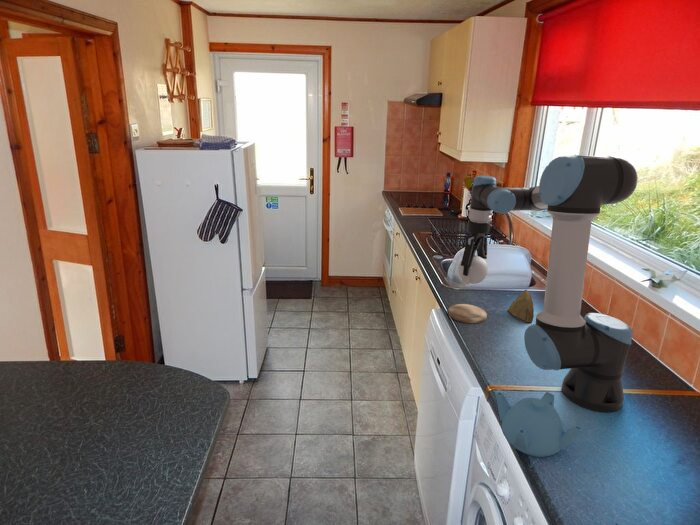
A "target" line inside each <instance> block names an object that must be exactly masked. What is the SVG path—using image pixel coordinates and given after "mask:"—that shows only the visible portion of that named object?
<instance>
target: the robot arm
mask: <svg viewBox="0 0 700 525" xmlns="http://www.w3.org/2000/svg"><path fill="white" fill-rule="evenodd" d="M638 179H639V176H638V172H637V169H636V168H635V166H634V165H633V164H632V163H631V162H630V161H628V160H627V159H626V158H623V157H619V156H617V155H616V156H615V155H605V156H604V155H579V154H577V155H576V154H573V155H572V154H571V155H561V156H558V157H555V158H554V159H552V160H551V161H550V162H549V163H548V165H546V166H545V168H544V169H543V171H542V173H541V176H540V179H539V184H538V185H537V186H530V187H521V186H520V187H501V186H498V185H497V179H496V177H495V176H492V175H491V176H490V175H485V174H484V175H476V176H475V177H474V178H473V183H472V187H471V188H472V189H471V196H470V197H471V198H470V204H469V205H470V206H469V211H468V212H469V213H468V219H469V220H468V222H467V231H468V232H470V233H471V234H470V236H469V238H468V237H467V238H466V239H465V246H464V250H463V253H462V254H463V255H462V258H461V260H462V262H461V261H460V262H461V266H463V274H462V279H461V282H460V283H461V284H464V285H470V275H471V268H472V267H470V266H471V263H472V260H473V257H474V255H475V256H479V257H481V258H483V259H484V260H488V236H489V235H488V234H489V232H490V230H491V229H490V228H491V220H492V216H493V215H494V213H493V212H495V213H499V214H501V215H502V214H504V215H505V214H509V212H511V211H513V212H515V211H517V212H518V211H536V212H539V211H540V212H541V211H547V213H548V214H549V215H550V216H551V217H552V226H551V234H550V236H551V237H550V243H549V244H550V245H549V253H548V254H549V255H548V260H547V262H548V264H547V272H546V281H545V283H546V284H545V290H544V291H545V292H544V300H543V301H544V302H543V307H542V308H543V309H542V310H541V311H539V312H538V313H537V314H536V316H535V324H531V325H529V326H527V328H526V329H525V331H524V338H523V339H524V346H525V350H526V352H527V355H528V357H529V359H530V361H531V362H532V363H533V365H535V366H536V367H537V368H539V369H541V370H543V371H550V370H551V371H559V370H568V372H567V374H566V375H565V376H564V377H563V380H562V384H561V390H562V393H563V394H564V396H565V397H566V398H567V399H569V400H570V401H571V402H573V403H574V404H576V405H578V406H579V407H582V408H585V409H588V410H591V411H595V412H600V413H601V412H602V413H611V412H612V413H613V412H617V411H619V410H621V409H622V406H623V403H624V400H625V395H624V387H623V382H622V381H623V380H622V377H623V374H624V369H625V366H626V363H627V360H628V359H627V358H628V356H629V353H630V352H629V351H630V348H631V345H632V344H633V343H632V339H633V333H634V332H633V329H632V328H631V326H629V325H628V324H627V323H626V322H624V321H622V320H620V319H618V318H617V317H613V316H611V315H608V314H604V313H599V312H588V313H586V314H585V316H584V317H583V316H582V315H581V310H582V302H583V301H582V300H583V294H584V293H583V292H584V285H585V279H586V278H585V277H586V271H587V270H586V268H587V261H588V252H589V246H590V245H589V244H590V236H591V229H592V223H593V222H592V221H593V220H594V219H595V218H596V217H598V216H599V215H600V213H601V206H602V205H603V206H604V205H614V204H618V203H620V202H621V203H622V202H623V201H625V200H627V199H628V198H629V197H630V196H631V195H633V194H634V193H635V190H636V188H637V185H638V182H639V180H638Z"/></svg>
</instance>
